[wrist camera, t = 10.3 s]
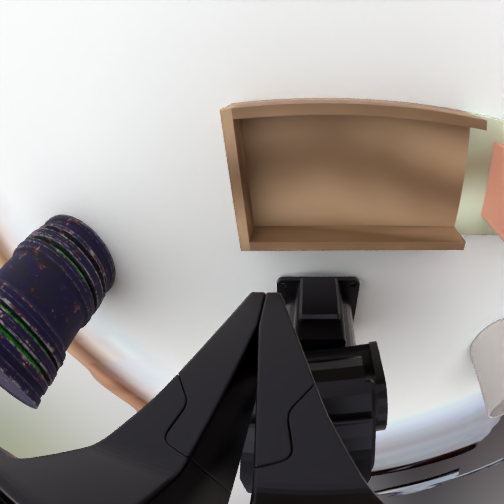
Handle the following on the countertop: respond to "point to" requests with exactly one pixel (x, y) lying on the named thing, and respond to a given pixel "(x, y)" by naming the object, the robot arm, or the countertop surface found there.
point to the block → (495, 192)
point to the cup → (490, 366)
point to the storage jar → (48, 302)
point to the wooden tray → (357, 174)
